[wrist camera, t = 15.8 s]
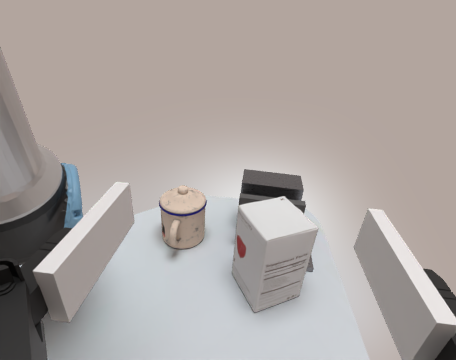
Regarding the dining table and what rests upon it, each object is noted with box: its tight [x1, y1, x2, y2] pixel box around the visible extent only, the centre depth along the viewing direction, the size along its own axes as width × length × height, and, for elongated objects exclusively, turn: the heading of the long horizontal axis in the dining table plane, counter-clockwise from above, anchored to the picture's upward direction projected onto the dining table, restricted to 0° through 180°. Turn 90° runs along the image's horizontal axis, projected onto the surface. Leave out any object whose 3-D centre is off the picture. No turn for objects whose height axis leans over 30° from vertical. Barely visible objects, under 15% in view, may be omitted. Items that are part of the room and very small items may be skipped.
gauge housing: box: [241, 169, 313, 272], centre depth 56 cm, size 15×15×12 cm
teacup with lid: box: [159, 185, 207, 249], centre depth 54 cm, size 12×9×12 cm
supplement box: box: [232, 196, 319, 312], centre depth 45 cm, size 9×9×15 cm
